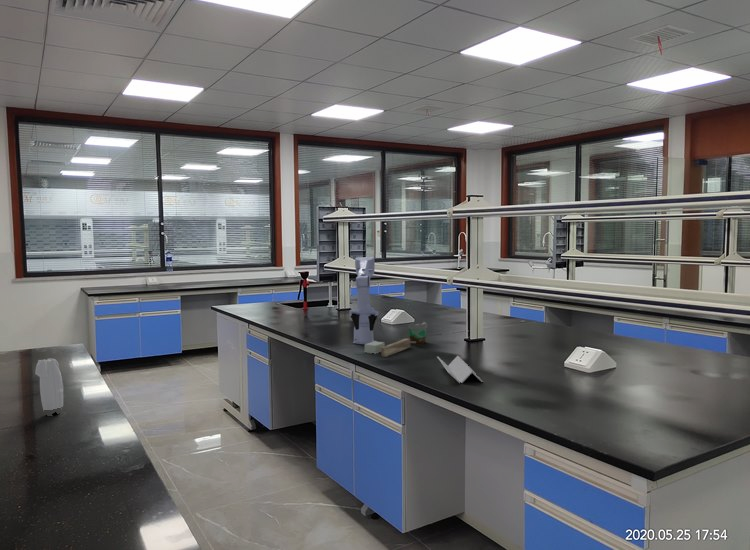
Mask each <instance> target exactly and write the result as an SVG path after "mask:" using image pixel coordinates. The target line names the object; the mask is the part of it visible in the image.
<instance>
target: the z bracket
mask: <svg viewBox="0 0 750 550" xmlns="http://www.w3.org/2000/svg"><path fill="white" fill-rule="evenodd" d="M436 358H437V359H438V360H439V361H440V364H441V365H442V366H443V368H444V369H445V370H446V371H447V373H448V375H450V376H451V377H452V378H453V379H455V380H456V381H457V383H459V384H460V382H461V383H462V384H463V383H464V382H465V381H466V380H467V379H468V378H469V377H470V375H472V374H473V375H474V376H475V377H476V378H477V380H479V381H480V382H481V383H482V382H484V381H483V380H482V379H481V377H479V376H477V375H478V374H477V373H476V372H475V371H474V370H473V369H472V368H471V367H470V365H469V364H467V363H466V362H465V361H464V360H463V358H462V357H460V356H459V355H456V357H454V359H453V360H452V361H451V362H450V363H449V364H448V365H447V363H446V362H445V361H444V360H442V359H441V358H440V356H436ZM468 365H469V366H468ZM476 374H477V375H476Z"/></svg>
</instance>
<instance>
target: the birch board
mask: <svg viewBox="0 0 750 550" xmlns="http://www.w3.org/2000/svg"><path fill="white" fill-rule="evenodd" d="M410 347H411V344H410V338H403V339H401V340H398V341H395V342H393V343H390V344H387V345H385V346H384V347H382V348H381V351H382V352H381V357H383V358H384V357H385V358H387V357H390V356H392V355H394V354H397V353H399V352H401V351H404V350H406V349H410ZM389 355H390V356H389Z"/></svg>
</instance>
